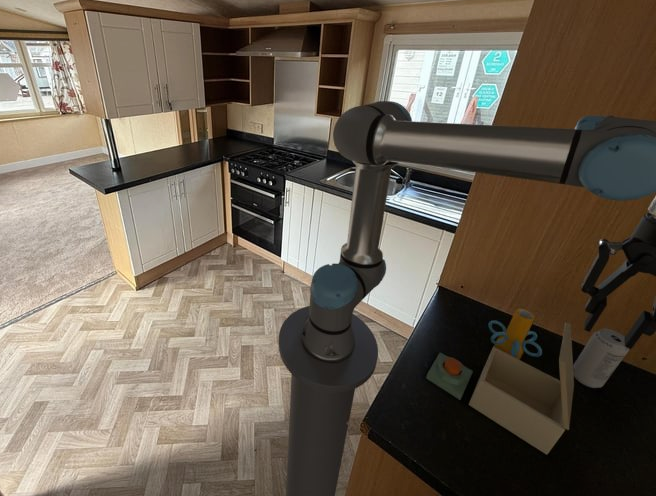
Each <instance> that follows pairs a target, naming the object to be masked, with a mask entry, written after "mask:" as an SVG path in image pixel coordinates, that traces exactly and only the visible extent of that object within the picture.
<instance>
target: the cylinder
mask: <svg viewBox="0 0 656 496" xmlns="http://www.w3.org/2000/svg"><path fill="white" fill-rule="evenodd" d="M535 320H536V315H535V314H534V313H533V312H531V311H530V310H528V309H525V308H523V307H522V308H520V307H519V308H516V309H515V311H514V313H513V315H512V317H511V319H510V322H509V323H508V326H507V327H506V326H505V325H504V323H502V322H500V321H498V320H491V321H489V322H488V326H487V327H488V329H489V330H490V332H491V333H492V335H491V337H490V342H491V343H492V344H493V347H495V348H497V349H499V350H501V351H503V352H505V353H507V354H509V355H511V356H512V357H514V358H516V359H518V360H520V361H521V359H522V357H523V355H524V353H526V354H527V355H528V356H530V357H532V358H533V357H534V358H538V357H541V356H542V354H543V349H542V348H541V346H540V345H539V344H538V343H537V342H535V341H536V340H537V338H538V334H537V333H536V332H535V331H533V330H530V329H531V327H532V326H533V324H534V322H535ZM493 324H496V325H498V326H500V328H501V329H502V331H496V330H495V329H494V328H493ZM529 335H533V336H532V337H531V338H529V339H526V337H527V336H529ZM495 339H496V340H495ZM525 339H526V340H525ZM527 344H530V345H533V346H534V347H535V348H536V350H537V352H536V353H533V352H531V351H529V350H528V349H527V348H526V345H527Z"/></svg>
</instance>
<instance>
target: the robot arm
mask: <svg viewBox="0 0 656 496" xmlns="http://www.w3.org/2000/svg"><path fill="white" fill-rule="evenodd" d="M332 139H333V140H332V141H333V144H334V146H335V148H336V150H337V152H338V153H339V154H340V155H341V156H342V157H343V158H345V159H347V160H349V161H352V163H353V164H354V165H355V170H354V177H353V178H354V180H353V188H352V196H351V205H350V214H349V223H348V233H347V240H346V241H347V242H345V243H344V244H343V245H342V246H341V248H340V255H339V262H338V263H331V264H329V263H327V264H324V265H322V266H320V267H319V268H317V269H316V271H314V273H313V276H312V278H311V282H310V287H309V291H310V293H309V294H310V295H309V296H310V297H309V306H310V308H309V317H307V320H306V322H305V324H304V325H303V327H302V331H301V342H302V345H303V347H304V349H305V350H306V352H307V353H308V354H309V355H310V356H312V357H313V358H315V359H317V360H319V361H322V362H325V363H338V362H342V361H344V360H346V359H347V358H349V357H350V356H351V354H352V353H353V350H354V346H355V336H354V333H353V330H352V326H351V321H352V315H353V314H354V310H355V308H357V306H358V305H360V303H361V302H362V301H363V300H364V299H365V298H366V297H367V296H368V295H369V294H370V293H371V292H372V291H373V290H374V289H375V288H376V287H378V286H379V285H380V284H381V282H382V281H383V280H384V277H385V276H386V273H387V263H386V260H385V259H384V258H383V257H384V254H383V251H382V250H381V249H380V248H379V247H380V240H381V234H382V230H383V229H382V228H383V223H384V217H385V210H386V204H387V199H388V192H389V187H390V180H391V174H392V169H393V168H394V167H395V166H397V165H399V164H408V165H416V166H423V167H429V168H438V169H446V170H453V171H460V172H468V173H475V174H483V175H491V176H498V177H504V178H505V177H506V178H513V179H520V180H528V181H535V182H543V183H551V184H559V185H566V186H572V187H579V188H585V189H586V190H587V191H589V192H590V193H591V194H592V195H594V196H597V197H599V198H602V199H606V200H610V201H617V202H619V201H620V202H623V201H624V202H625V201H635V200H638V199H642V198H646V197H648V196H651V195H653V194H655V193H656V120H650V119H649V120H648V119H639V118H629V117H619V116H615V115H585V116H583V117H581V118H580V119H579V120H578V121H577V124H576V125H575V127H574V128H560V127H541V126H540V127H539V126H538V127H537V126H518V125H497V124H475V123H456V122H455V123H453V122H436V121H435V122H432V121H413V119H412V115H411V114H410V112H409V111H408V109H407V108H406V107H405V106H404V105H402V104H401V103H399V102H396V101H391V100H379V101H375V102H372V103H368V104H363V105H358V106H354V107H351V108H348V110H345V111H344V112H343V113H342V114H341V115H340V116H339V117H338V119H337V121H336V122H335V124H334V127H333V131H332ZM647 211H648V212H647V213H645V214H643V216H642V217H641V219H640V221H639V222H638V224H637V226H636V228H635V229H634V231H633V232H632V234H631V235H630V236H629V237H627V238H625V239H624V240H623V241H610V240H608V239H607V238H601V239H599V240H598V252H597V255H596V256H595V258H594V260H593V262H592V264H591V266H590V267H589V269H588V271H587V273H586V275H585V276H584V279H583V280H582V283H581V289H580V290H581V292H582V293H584V294H588V295H589V296H590V297H589V298H588V300H587V302H586V304H585V306H584V307H585V308H584V309H585V310H584V311H585V312H586V313H589V314H588V316H587V318H586V319H585V320H584V328H583V330H584V331H586V332H588V333H590V332H591V331H592V329H593V328H594V326H595V324H596V323H597V322H598V319H600V317H601V315H602V313H603V312H604V311H605V309H606V307H607V306H608V296H610V295H611V294H612V293H614V292H615V291H616V290H617V289H618V288H619V287H620V286H622V285H623V284H624V283H625V282H627V281H628V280H630V278H632V277H634V276H636V275H637V274H639V273H642V274H649V275H651V276H654V277H656V195H655V196H654V198H653V200H652V201H651V203H650V204H649V206H648V208H647ZM619 251H622V252H623V254H624V256H625V258H626V260H625V261H624V262H623V263H622V264H621V266H619V267H618V268H617V269H616V270H615V271H614V272H612V273H611V274H610V275H609V276H608V277H607V278H606V279H604V280H603V281H602V282H601V283H600V284H598V286H595V285H596V284H597V282H598V280H599V278H600V276H601V274H602V273H603V271H604V269H605V267H606V266H607V264H608V262H609V260H610V256H614V255H617V253H618V252H619ZM655 333H656V294H655V295H654V300H653V304H652V309H651V312H649V311H647V310H643V311H642V312H641V314H640V315H639V316H638V318H637V319H636V321H634V323H633V325H632V326H631V328H630V329H629V330H628V332H627V333H626V334H625V336H624V337H625V338H624V340H625V347H627V348H629V350H632V349H633V347H634V346H635V345H636V344H637V342H638V341H639V339H640V338H641V337H642V335H645V336H648V337H651V336H653V335H654V334H655Z"/></svg>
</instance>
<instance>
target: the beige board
mask: <svg viewBox="0 0 656 496" xmlns="http://www.w3.org/2000/svg"><path fill="white" fill-rule="evenodd" d="M558 364H559V365H558V367H559V368H558V370H559V381H560V385H561V400H562V416H563V428H565V430H567V431H569V430H570V424H571V415H572V407H573V398H574V389H575V379H574V378H575V377H574V375H573V365H574V359H573V342H572V324H571V323H569V322H565V323H564V329H563V335H562V340H561V346H560V351H559V358H558Z"/></svg>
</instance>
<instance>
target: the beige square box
mask: <svg viewBox="0 0 656 496" xmlns="http://www.w3.org/2000/svg"><path fill="white" fill-rule="evenodd" d="M468 406H470V407H471V408H473V409H474V410H476V411H478V413H480V414H482V415H484V416H486V417H487V418H488V419H490V420H492V421H493V422H495V423H496V424H498V425H499V426H501V427H503V428H504V429H506V430H507V431H509V432H510V433H512V434H513V435H515V436H517V438H519V439H522V440H523V441H525V442H526V443H527V444H529V445H531V446H532V447H533V448H535V449H537V450H538V451H540V452H542V453H543V454H545V455H546V456H547V455H548V454H550V452H551V450H552V449H554V448H553V447H554V446H555V445H556V444H557V442H558V441H559V439H560V438H561V437H562V436H563V434H564V433H565V431H566V429H565V428H563V416H562V400H561V385H560V379H558V378H556V377H553V376H552V375H550V374H547V373H546V372H544V371H542V370H540V369H538V368H536V367H534V366H532V365H530V364H528V363H526V362H524V361H522V360H521V359H520V360H518V359H516V358H514V357H512V356H511V355H509V354H507V353H505V352H503V351H501V350H499V349H497V348H495V347H494V346H492V348H491V351H490V352H489V355H488V357H487V360H486V362H485V364H484V365H483V368H482V371H481V374H480V376H479V378H478V380H477V382H476V385H475V388H474V390H473V393H472V395H471V397H470V400H469V402H468Z"/></svg>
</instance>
